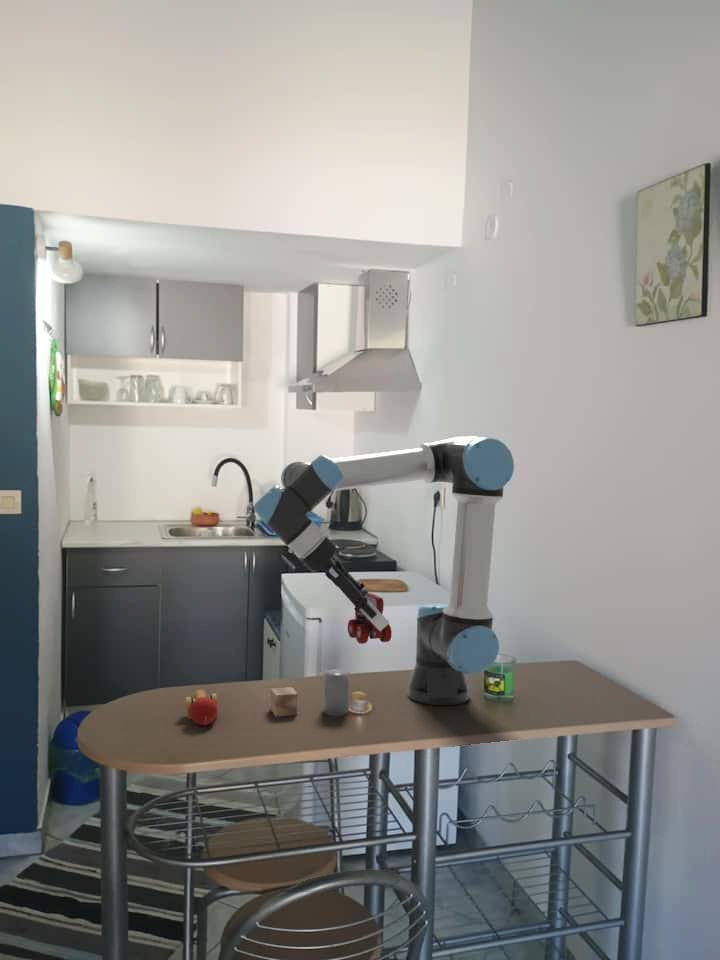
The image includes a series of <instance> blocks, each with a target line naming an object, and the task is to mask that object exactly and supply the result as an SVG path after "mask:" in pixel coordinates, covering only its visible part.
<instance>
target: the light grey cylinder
mask: <svg viewBox="0 0 720 960" xmlns="http://www.w3.org/2000/svg"><path fill="white" fill-rule="evenodd" d="M350 674H351V673H350V672H349V671H348V670H343V669H336V668H335V669H328V670H325V671H323V688H322V689H323V690H322V691H323V692H322V713H323V714H325V715H328V716H334V717H337V716H338V717H339V716H346V715H347V714H349V707H350V706H349V705H350V703H349V702H350V681H351V680H350V678H351V677H350V676H351V675H350Z"/></svg>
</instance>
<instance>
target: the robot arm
mask: <svg viewBox="0 0 720 960" xmlns="http://www.w3.org/2000/svg"><path fill="white" fill-rule="evenodd" d="M514 469H515V462H514V457H513V454H512V452H511V450H510V449H509V448H508V446H507V445H506V444H505V443H503V442H502V441H501V440H499V439H497V438H493V437H490V436H467V435H463V436H462V435H460V436H455V437H450V438H447V439H442V440H439V441H434V442H433V441H432V442H425V443H422V444H421V445H419V447H418V448H413V449H412V448H411V449H404V450H403V449H402V450H394V451H388V452H380V453H379V452H378V453H371V454H362V455H361V454H360V455H354V456H352V455H351V456H345V457H338V458H337V457H336V458H330V457H328V456H326V455H325V454H320V455H319V456H317V457H316V458H315V459H313V460H312V461H311V460H310V461H306V462H303V461H296V462H295V461H294V462H290V463H289V464H287V465H285V467H284V468H283V469H282V472H281V474H280V475H281V476H280V482H281V485H282V487H280V486H279V485H278V484H276V485H273V486H272V487H271V488H269V490H268V491H267V492H266V493H264V495H262V496H261V497H260V498H259V499H258V500H257V501H256V502H255V503H254V505H253V509H254V512H255V513H256V514H257V516H258V517H259V518H260V519H261V520H262V521H263V522H264V524H265V525H266V526H267V527H268V528H270V530H271V531H272V532H273V533H274V535H276V536H277V537H278V538H279V539H280V540H281V541H282V542H283V543H284V544H285V545H286V546H287V548H288V553H290V554H291V553H293V554H295V555H296V557H297V558H300V559H301V558H302V559H301V562H302V564H304V566H305V567H306V568H307V569H308V570H309V571H310V572H312V573H314V572H317V571H318V570H320V569H321V568H323V569H324V570H325V572H324V573H325V575H324V576H326V578H328V580H330V581H331V582H332V583H333V584H334V585H335V586H336V587H337V588H339V590H340V591H341V592H342V593H343V594H344V595H345V597H346V598H347V599H348V600H349V601H350V602H351V603H352V604H353V605H354V608H353V609H354V612H355V611H356V612H357V611H358V610H360V611H361V612H362V613H363V614H364V615H365V616H366V617H367V618H368V619H369V620H370V621H371V622H372V624H373V625H374V626H375V627H376V628H377V629H378V630H379V631H381V630H382V629H383V628H385V627H386V626H387V625H388V624H389V625H390V621H389V620H388V619H387V618H386V617H385V616H384V615H383V613H382V614H381V613H380V612H379V611H378V610H377V609H376V607H375V606H374V605H373V604H372V603H371V602H370V601H369V600H367V599H366V598H365V597H364V596H363V595H362V594H361V591H362V590H365V589H364V588H365V587H366V585H365V584H364V583H363V582H361V583H360V582H359V581H357V580H356V579H355V578H354V577H353V576H352V575H351V574H350V573H349V571H348V570H347V569H346V568H345V567H344V565H343V563H342V562H341V561H340V560H337V559H336V557H334V555H335V554H336V553H337V552H338V547H337V546H336V544H334V542H333V541H332V540H331V539H329V537H327V536H326V537H325V532H323V531H322V530H321V529H320V528H319V527H318V525H317V524H316V523H315V522H314V521H312V519H311V518H310V517H309V516H308V515H309V514H310V513H311V512H312V511H313V510H314V509H315V508H316V507H317V506H318V505H320V503H322V501H323V500H325V499H326V498H327V497H328V496H329V495H330V494H331V493H332V492H335V491H337V492H338V491H345V490H352V489H360V488H367V487H376V486H382V485H391V484H398V483H405V482H406V483H407V482H414V481H415V482H416V481H422V480H423V482H425V483H427V484H431V483H449V484H452V489H451V490H452V491H451V494H452V496H453V497H454V498H455V499H456V501H457V508H456V521H455V522H456V523H455V535H454V547H453V548H454V549H453V559H452V562H453V563H452V573H451V584H450V585H451V586H450V598H449V599H450V600H449V603H427V604H422V605H421V606H419V608H418V610H417V617H416V621H417V623H416V645H415V646H416V647H415V648H416V650H415V651H416V653H415V665H414V667H413V671H412V672H411V676H410V679H409V681H408V684H407V697H409V699H411V700H413V701H416V702H418V703H422V704H426V705H432V706H454V705H455V706H456V705H460V704H464V703H466V702H467V701H468V700H469V699H470V698H469V695H470V692H469V691H470V689H469V685H468V682H467V677H466V675H470V676H471V675H478V674H481V673H484V672H485V671H487V670H488V669H489V668H490V667H491V666H492V665H493V664H494V663H495V662H496V659H497V658H498V656H499V651H500V642H499V639H498V636H497V635H496V633H495V632H494V630H493V621H494V615H493V612H491V610H490V609H489V607H488V598H489V585H490V575H491V574H490V573H491V562H492V560H491V559H492V549H493V537H494V525H495V514H496V505H497V503H498V502H499V501H500V500H502V499H503V498H504V487H505V486H506V485H507V484H508V482H510V481H511V479H512V477H513V475H514ZM360 598H361V599H360Z"/></svg>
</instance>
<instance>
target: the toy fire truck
mask: <svg viewBox="0 0 720 960" xmlns="http://www.w3.org/2000/svg"><path fill="white" fill-rule="evenodd" d="M361 594H362V595H363V596H364V597H365V598H366V599H367V600H369V601H370V602H371V603H372V604H373V605H374V606H375V607H376V609H377V610H378V611H379V612H380V613H381V614H382V615H383V613H384V612H383V611H384V607H385V606H384V599H383V597H380V596H378V595H376V594H374V593H370V592H369V591H368V590H366V589H364V590H363V589H362V591H361ZM360 599H361V598H360ZM347 633H348V636H349V637H350V638H352V639H356V642H357V643H358V644H361V645H363V644H367V642H368V640H369V639H371V640H373V639H376V640H377V639H379V640H380V642H382V643H387V642H390V641H391V638H392V628H391V625H390V623H389V624H388V625H387V626H386V627H385V628H383V629H382V630H381V631H379V630H378V629H377V628H376V627H375V626H374V625H373V624H372V622H371V621H370V620H369V619H368V618H367V617H366V616H365V615H364V614H363V613H362V612H361V611H360V610H358V611H357V612H356V611H355V610H354V618H352V619H349V621H348V623H347Z"/></svg>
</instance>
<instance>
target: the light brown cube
mask: <svg viewBox="0 0 720 960" xmlns="http://www.w3.org/2000/svg"><path fill="white" fill-rule="evenodd" d="M298 698H299V697H298V692H297V691H296V690H295V689H294V688H293V687H289V686H288V687H274V688H271V689H270V709H269V710H270V712H273V713H272V714H273V715H274V717H275V718H277V716H278V717H289V716H297V715H298Z"/></svg>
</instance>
